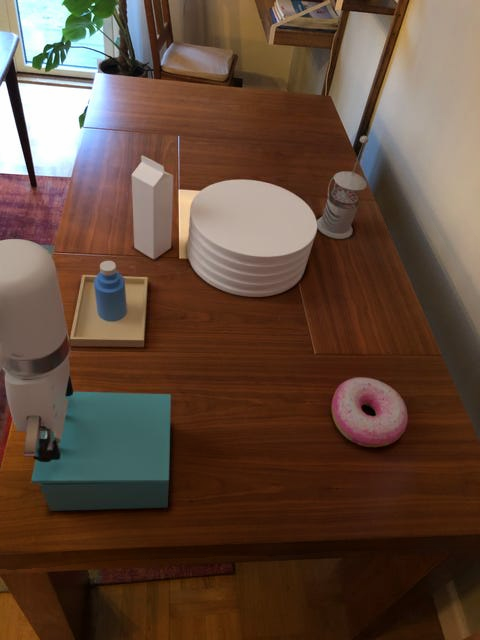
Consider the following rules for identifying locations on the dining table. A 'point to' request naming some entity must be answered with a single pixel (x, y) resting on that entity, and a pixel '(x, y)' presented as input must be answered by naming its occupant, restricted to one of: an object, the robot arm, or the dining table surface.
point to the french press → (342, 203)
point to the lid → (110, 440)
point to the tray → (110, 333)
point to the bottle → (110, 292)
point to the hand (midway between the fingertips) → (54, 424)
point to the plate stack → (250, 237)
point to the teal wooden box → (105, 495)
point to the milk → (152, 208)
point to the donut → (363, 426)
